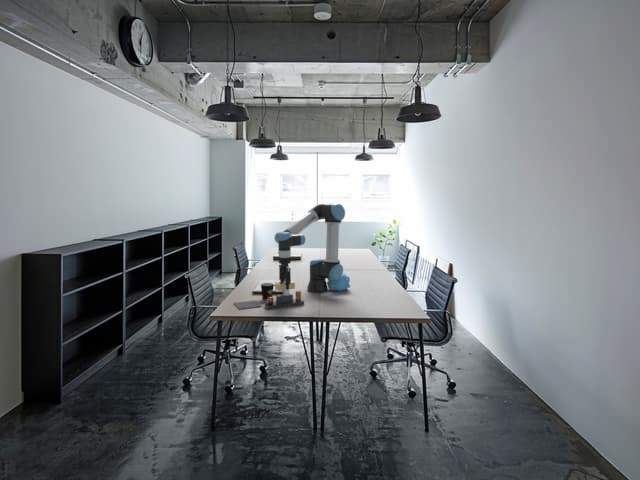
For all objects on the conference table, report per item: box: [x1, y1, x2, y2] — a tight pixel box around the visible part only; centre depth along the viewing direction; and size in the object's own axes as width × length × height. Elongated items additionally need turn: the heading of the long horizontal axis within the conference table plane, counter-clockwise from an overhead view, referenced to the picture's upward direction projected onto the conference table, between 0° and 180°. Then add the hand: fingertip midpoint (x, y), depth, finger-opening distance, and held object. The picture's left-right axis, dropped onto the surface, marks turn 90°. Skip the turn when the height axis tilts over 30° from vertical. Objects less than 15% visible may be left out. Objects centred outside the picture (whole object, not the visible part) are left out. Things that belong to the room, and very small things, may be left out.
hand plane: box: [264, 290, 305, 310], centre depth 240 cm, size 24×7×8 cm, turn 117°
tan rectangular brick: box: [274, 280, 296, 292], centre depth 239 cm, size 11×6×4 cm, turn 117°
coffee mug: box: [260, 282, 278, 301], centre depth 256 cm, size 12×9×10 cm
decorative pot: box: [326, 272, 351, 292], centre depth 282 cm, size 16×16×14 cm
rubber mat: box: [233, 300, 262, 311], centre depth 240 cm, size 14×14×1 cm
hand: (285, 292), depth 239 cm, fingers closed on tan rectangular brick, 6 cm apart
